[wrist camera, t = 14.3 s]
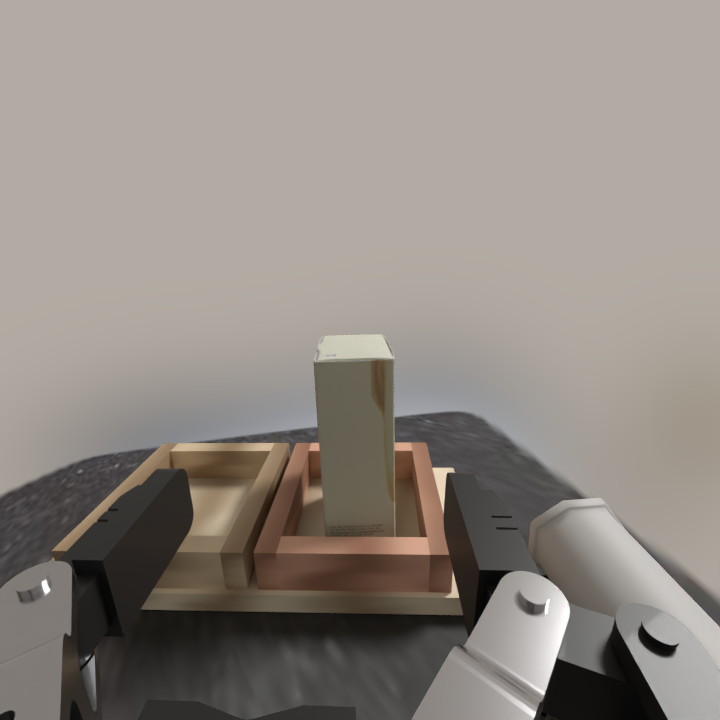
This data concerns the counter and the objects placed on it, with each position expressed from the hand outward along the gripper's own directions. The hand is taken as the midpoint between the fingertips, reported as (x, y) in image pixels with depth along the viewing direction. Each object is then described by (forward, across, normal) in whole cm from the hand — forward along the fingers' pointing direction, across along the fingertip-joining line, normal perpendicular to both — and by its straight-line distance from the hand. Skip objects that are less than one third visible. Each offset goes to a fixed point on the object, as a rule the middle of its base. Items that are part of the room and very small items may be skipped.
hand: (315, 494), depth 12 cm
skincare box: (+12, -1, +11) cm, 16 cm away
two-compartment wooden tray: (+12, +5, +12) cm, 17 cm away
